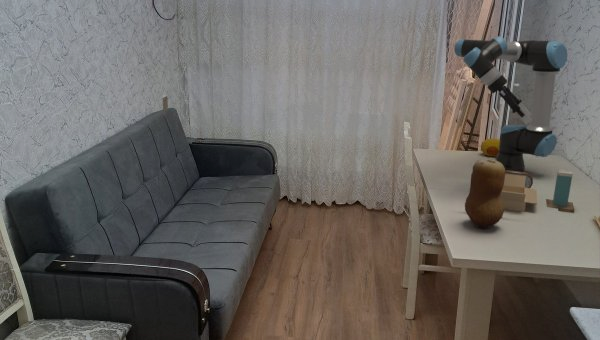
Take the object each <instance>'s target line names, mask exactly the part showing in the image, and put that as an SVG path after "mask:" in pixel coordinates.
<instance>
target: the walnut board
mask: <svg viewBox="0 0 600 340" xmlns="http://www.w3.org/2000/svg"><path fill="white" fill-rule="evenodd" d="M545 201H546V208H552V209H557V210H558V211H559V212H563V213H572V214H575V207H574V203H573V202H572V201H568V204H567V207H562V206H555V205H553V199H549V198H546V199H545Z"/></svg>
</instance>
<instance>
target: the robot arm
mask: <svg viewBox="0 0 600 340" xmlns="http://www.w3.org/2000/svg"><path fill="white" fill-rule="evenodd" d="M453 48H454V53H455V55H456V56H457V57H461V58H463V59H462V60H463V62H464V63H465V65H466V66H467V68H469V69H470V70H471V71H472V72H473V74H474V75H475V76H476V77H477V78H478V79H479V80H480V83H481V84H484V86H487V89H488V90H489V92H490V93H491V94H495V93H497V92H499V93H498V95H499V96H500V97H501V98H502V100H503V101H504V102H505V103H506V104H507V105H508V107H509V108H510V109H511V110H512V111H511V112H512V113H513V114H516V115H517V116H518V118H520V120H521V122H523V123H524V124H507V125H503V126H502V128H501V129H500V130H501V131H500V133H499V135H500V138H499V139H500V144H499V152H498V155H497V157H495V160H496V161H498V162H500V163H502V164H503V166H504V168H505V170H511V171H519V172H525V170H526V165H525V161H524V154H528V155H532V156H535V157H541V158H546V157H548V156H550V155H551V154H553V152H554V150H555V148H556V146H557V142H558V139H557V136H556V134H554V133H553V130H554V129H553V127H552V126H551V125H550V124H551V117H552V107H553V101H554V93H555V91H554V90H555V83H556V76H557V74H559V72H560V71H561V69H562V68H563V67H564V66H565V65H566V63H567V61H568V50H567V47H566V45H565V44H564V43H563V42H560V41H555V40H535V39H534V40H533V39H531V40H529V39H528V40H517V41H516V40H511V41H509V42H507V41H506V39H505V38H504V37H503V36H496V35H495V36H494V37H493V38H491V39H490V40H480V39H465V38H464V39H458V40H457V41H456V43H455V45H454V47H453ZM496 60H506V61H507V62H509V63H515V64H516V63H517V64H520V65H525V66H530V67H532V72H533V73H534V76H535V77H534V84H533V93H532V102H531V103H532V104H531V112H530V111H529V109H527V107H526V106H525V105H524V104H523V103H522V102H523V100H521V99H519V98H518V97H517V96H515V94H514V93H513V92H512V91H511V90H510V87H507V85H506V84H507V83H508V79H507V78H506V77H504V75H503V74H501V72H500V71H499V70H498V68H497V67H496V66H495V65H494V64H493V63H494V62H495V61H496ZM528 124H529V125H528Z"/></svg>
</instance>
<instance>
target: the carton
mask: <svg viewBox="0 0 600 340" xmlns="http://www.w3.org/2000/svg"><path fill="white" fill-rule="evenodd" d="M525 180H526V176H518V175H509V174H505V180H504V186H503V189H502V191H501V195H500V196H501V200H502V203H503V210H509V211H510V210H511V211H515V212H516V211H517V212H521V213H522V212H525V211H526V205H527V204H533V205H538V196H537V194H538V193H537V189H536V188H532V187H531V188H525Z"/></svg>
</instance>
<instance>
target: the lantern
mask: <svg viewBox="0 0 600 340" xmlns="http://www.w3.org/2000/svg"><path fill="white" fill-rule="evenodd" d="M499 144H500V138H499V139H498V138H486V139H485V140H484V141H481V145H480V152H482V154H483V155H485V156H486V155H487V156H486V157H491V156H492V157H493V158H497V155H498V152H499ZM467 145H468V146H470V143H468V144H467ZM467 145H466V146H467ZM473 146H475V147H478V145H477V144H476V145H475V144H473ZM492 157H491V158H492Z"/></svg>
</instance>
